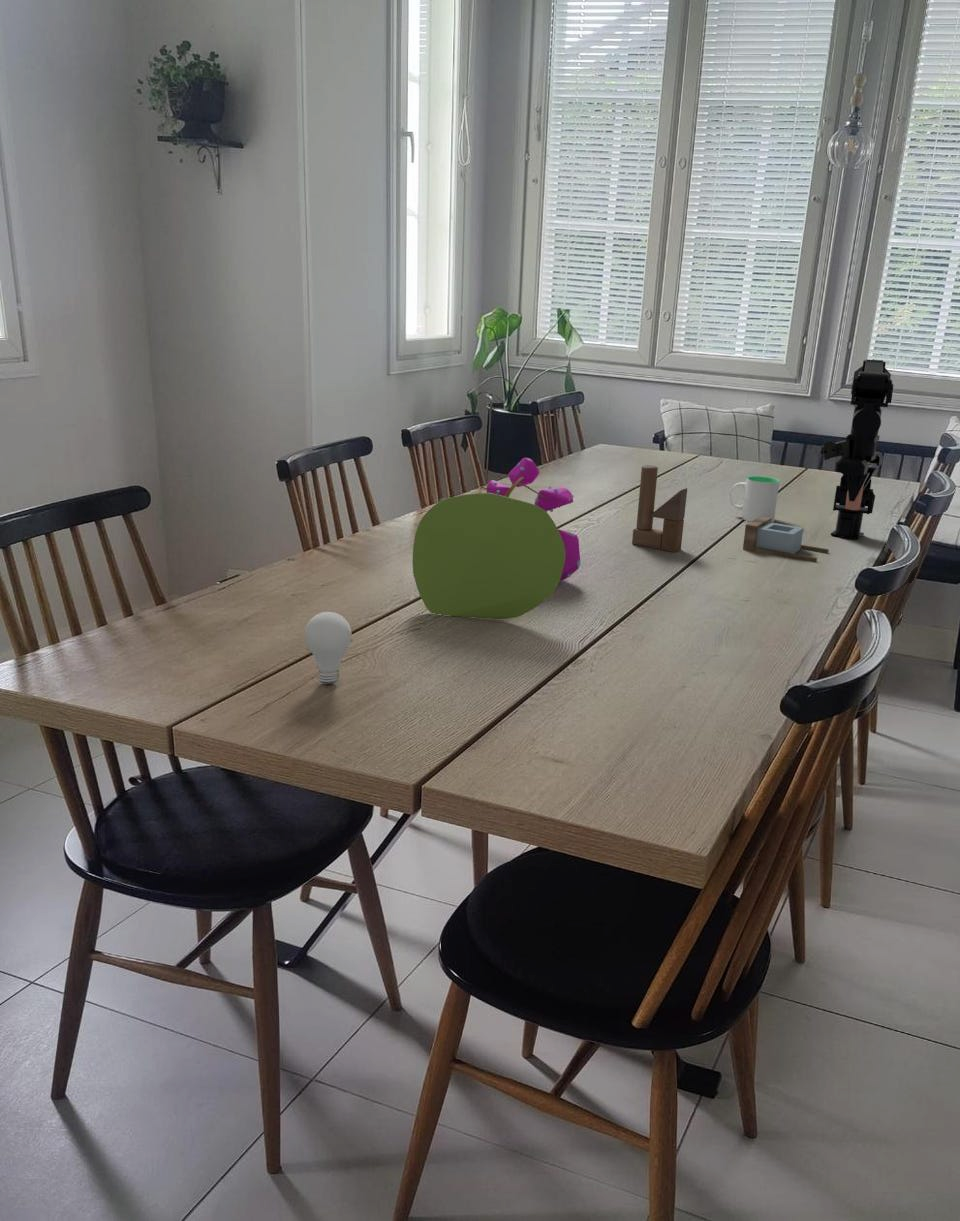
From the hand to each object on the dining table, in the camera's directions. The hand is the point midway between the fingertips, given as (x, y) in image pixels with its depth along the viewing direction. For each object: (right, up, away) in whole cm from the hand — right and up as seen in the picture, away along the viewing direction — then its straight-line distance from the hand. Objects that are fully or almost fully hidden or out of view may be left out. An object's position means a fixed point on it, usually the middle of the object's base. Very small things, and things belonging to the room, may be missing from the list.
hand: (853, 499), depth 228 cm
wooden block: (-45, -11, +1) cm, 46 cm away
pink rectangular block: (0, -2, +1) cm, 2 cm away
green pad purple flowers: (-80, -21, -34) cm, 90 cm away
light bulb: (-107, -36, -81) cm, 139 cm away
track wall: (-15, -12, +1) cm, 19 cm away
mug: (-15, -1, +33) cm, 36 cm away
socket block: (-17, -11, +2) cm, 20 cm away
